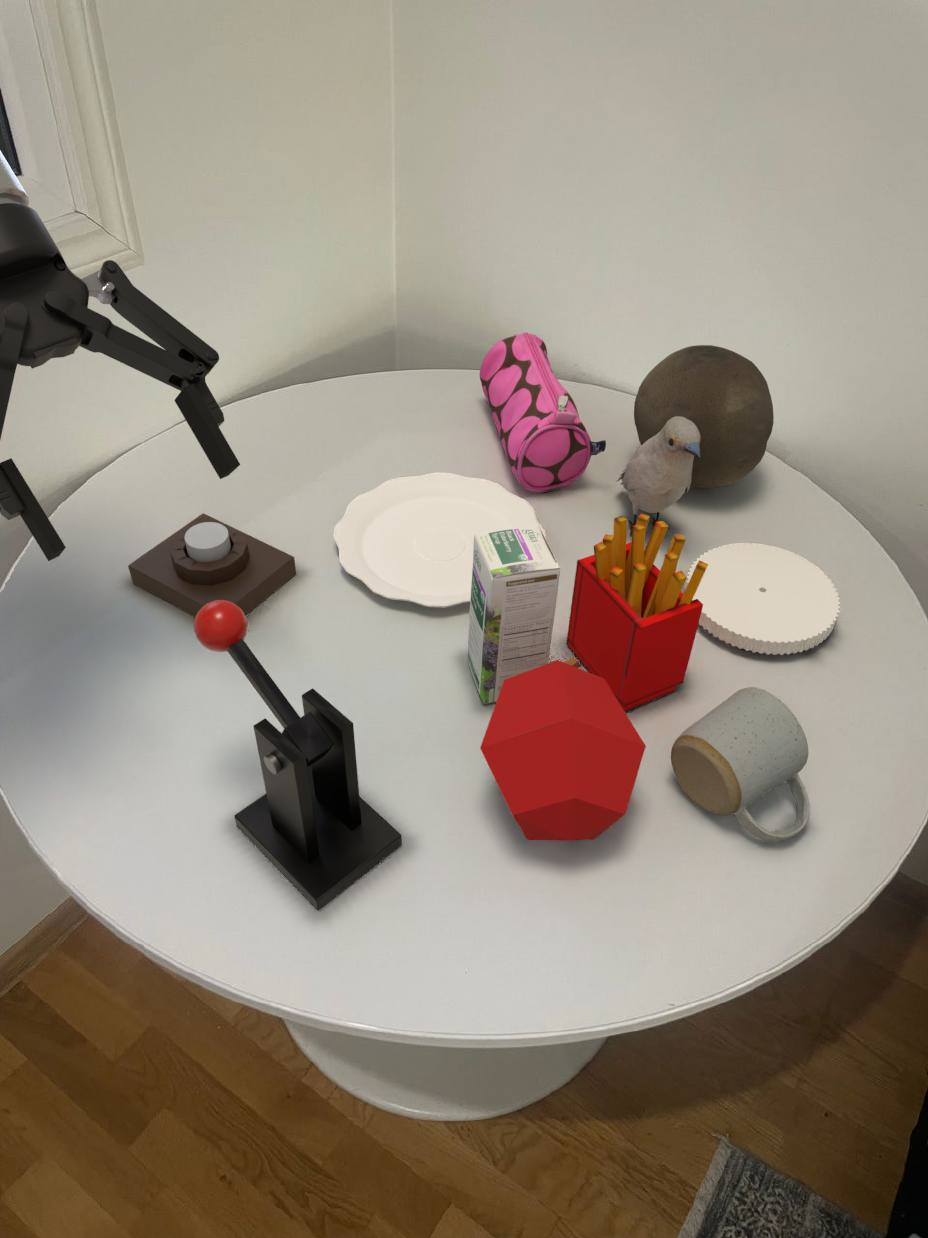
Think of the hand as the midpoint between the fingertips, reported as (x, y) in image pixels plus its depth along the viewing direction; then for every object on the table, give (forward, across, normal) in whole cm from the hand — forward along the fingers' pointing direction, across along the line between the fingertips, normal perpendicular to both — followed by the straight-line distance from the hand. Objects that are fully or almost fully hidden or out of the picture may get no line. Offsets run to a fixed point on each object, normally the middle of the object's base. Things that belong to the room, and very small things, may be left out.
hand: (148, 511), depth 69 cm
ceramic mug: (+41, -26, +10) cm, 50 cm away
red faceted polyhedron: (+34, -15, +3) cm, 37 cm away
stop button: (+3, -11, -22) cm, 25 cm away
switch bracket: (+27, 0, -4) cm, 27 cm away
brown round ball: (+21, -58, -10) cm, 63 cm away
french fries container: (+30, -30, 0) cm, 43 cm away
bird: (+23, -48, -8) cm, 53 cm away
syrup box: (+26, -22, -5) cm, 34 cm away
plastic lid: (+33, -46, +2) cm, 56 cm away
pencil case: (+9, -51, -22) cm, 56 cm away
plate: (+14, -30, -17) cm, 37 cm away
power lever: (+14, 0, +1) cm, 14 cm away
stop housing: (+6, -11, -25) cm, 28 cm away
